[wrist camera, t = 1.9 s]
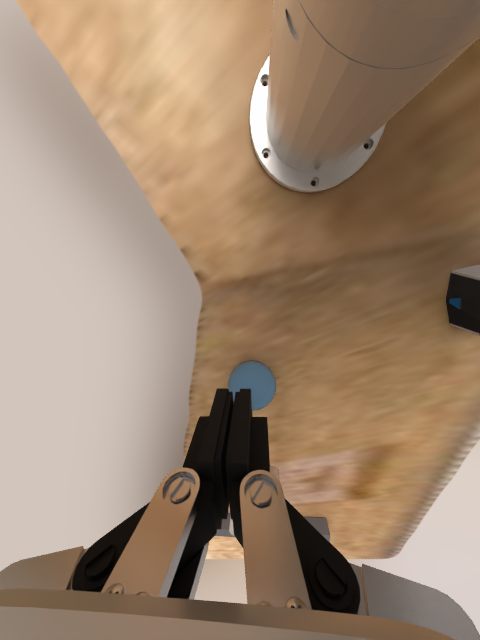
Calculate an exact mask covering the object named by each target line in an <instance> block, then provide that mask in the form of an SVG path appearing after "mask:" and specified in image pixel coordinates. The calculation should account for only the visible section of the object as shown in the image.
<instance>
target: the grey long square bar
mask: <svg viewBox="0 0 480 640" xmlns="http://www.w3.org/2000/svg"><path fill="white" fill-rule="evenodd" d="M230 517H231V515H230V513H228V517H227V519H222V526H221V529H217V533H216V535H215V536H227V537H235V536H233V535H231V534H230V532H229V527H230ZM304 518H305V519H306V520H307V521H308V522H309V523H310V524H311V525H312V526H313V527H314V528H315V529H316V530H317V531H318V532H319V533H320V534H321V535H322V536H323V537H324V538H325V539H326V540H328V541H330V532H329V528H328V524H327V520H326V518H317V517H304Z"/></svg>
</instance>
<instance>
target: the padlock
mask: <svg viewBox="0 0 480 640" xmlns="http://www.w3.org/2000/svg"><path fill="white" fill-rule="evenodd" d="M446 303H447V310H448V316H449V323H450V325H451V326H454V327H457V328H460V329H462V330H465V331H468V332H471V333H474V334H476V335H479V336H480V264H478V265H474V266H470V267H465V268H461V269H456V270H452V271H451V275H450V281H449V286H448V292H447V297H446Z"/></svg>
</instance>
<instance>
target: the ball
mask: <svg viewBox="0 0 480 640" xmlns="http://www.w3.org/2000/svg"><path fill="white" fill-rule="evenodd" d="M228 387H229V392H233V401H234V399H235V392H239V391H240V389H251V400H252V410H259V409H262V408H264V407H265V406H267V405H268V404H269V403H270V402H271V400H272V399H273V397H274V395H275V391H276V382H275V378H274V375H273V373H272V372H271V370H270V369H269V368H268V367H267V366H265V365H264V364H262V363H260V362H256V361H248V362H244V363H242V364H240V365H238V366H237V367H236V368H235V369H234V370H233V372H232V373H231V375H230V378H229V384H228Z"/></svg>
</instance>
